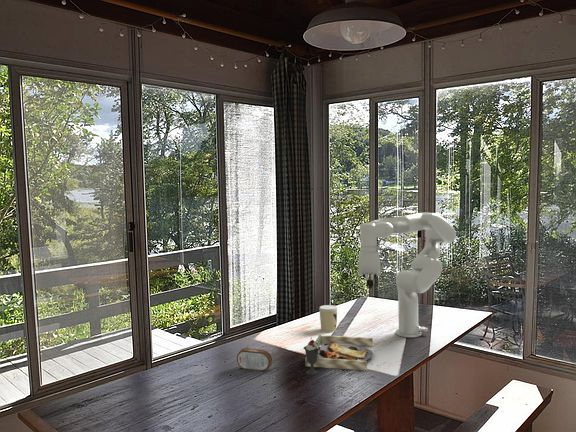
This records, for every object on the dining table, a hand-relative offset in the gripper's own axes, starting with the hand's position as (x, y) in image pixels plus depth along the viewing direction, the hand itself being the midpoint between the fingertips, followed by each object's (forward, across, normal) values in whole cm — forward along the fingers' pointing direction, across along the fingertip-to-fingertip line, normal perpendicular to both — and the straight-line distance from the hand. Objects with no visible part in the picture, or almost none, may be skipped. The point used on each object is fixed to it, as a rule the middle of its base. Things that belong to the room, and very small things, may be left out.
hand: (370, 287), depth 229 cm
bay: (+25, +13, +20) cm, 35 cm away
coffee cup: (+26, +22, -16) cm, 38 cm away
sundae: (+25, +23, +42) cm, 54 cm away
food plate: (+26, +12, +22) cm, 36 cm away
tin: (+25, +47, +42) cm, 67 cm away
